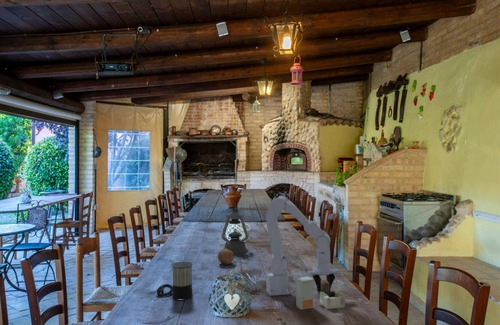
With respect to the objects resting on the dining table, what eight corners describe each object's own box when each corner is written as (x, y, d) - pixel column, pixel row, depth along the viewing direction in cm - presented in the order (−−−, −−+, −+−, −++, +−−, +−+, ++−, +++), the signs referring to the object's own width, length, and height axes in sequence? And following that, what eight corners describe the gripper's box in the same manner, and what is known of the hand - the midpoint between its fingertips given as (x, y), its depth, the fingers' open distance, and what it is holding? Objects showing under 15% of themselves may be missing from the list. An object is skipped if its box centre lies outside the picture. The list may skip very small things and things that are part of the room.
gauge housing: (319, 301, 165) (319, 291, 165) (337, 300, 166) (336, 290, 166) (326, 308, 157) (326, 298, 157) (344, 307, 159) (344, 296, 158)
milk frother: (194, 299, 169) (193, 266, 168) (157, 303, 164) (157, 269, 164) (190, 288, 182) (189, 257, 182) (156, 292, 178) (155, 260, 178)
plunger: (322, 297, 167) (322, 287, 167) (330, 296, 168) (330, 286, 168) (328, 302, 161) (328, 292, 161) (336, 302, 161) (336, 292, 161)
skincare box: (301, 310, 156) (301, 281, 156) (296, 306, 160) (295, 278, 160) (314, 307, 158) (313, 279, 158) (308, 304, 162) (308, 276, 162)
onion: (225, 267, 227) (225, 250, 232) (237, 265, 222) (237, 248, 226) (214, 264, 221) (214, 247, 225) (226, 262, 215) (226, 245, 220)
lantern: (243, 245, 269) (243, 203, 269) (252, 252, 250) (252, 206, 250) (218, 247, 264) (218, 204, 263) (226, 254, 244) (225, 208, 244)
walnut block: (321, 297, 169) (320, 283, 169) (317, 293, 173) (317, 280, 173) (329, 296, 170) (329, 282, 169) (326, 293, 173) (326, 280, 173)
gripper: (311, 264, 166) (311, 295, 166) (342, 262, 168) (342, 293, 168) (305, 260, 172) (305, 289, 173) (336, 258, 175) (336, 287, 175)
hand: (323, 291), depth 171 cm, fingers closed on walnut block, 4 cm apart
